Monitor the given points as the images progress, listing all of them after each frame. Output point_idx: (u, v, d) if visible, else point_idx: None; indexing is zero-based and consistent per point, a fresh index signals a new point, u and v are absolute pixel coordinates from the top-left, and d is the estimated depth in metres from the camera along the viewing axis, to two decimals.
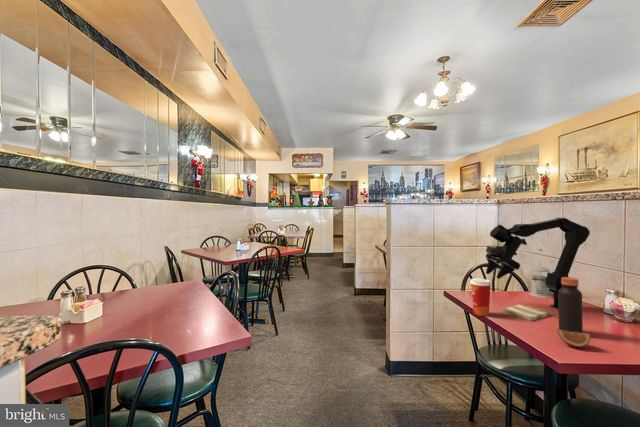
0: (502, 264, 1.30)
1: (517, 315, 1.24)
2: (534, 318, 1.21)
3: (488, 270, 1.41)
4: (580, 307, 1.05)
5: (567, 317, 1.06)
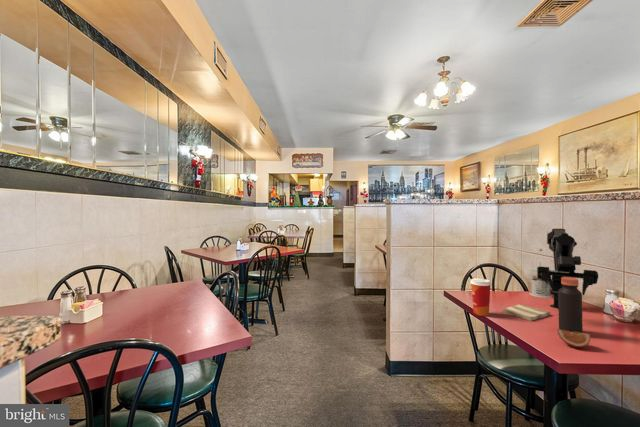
0: (588, 277, 1.12)
1: (517, 315, 1.24)
2: (534, 318, 1.21)
3: (552, 286, 1.17)
4: (580, 307, 1.05)
5: (567, 317, 1.06)
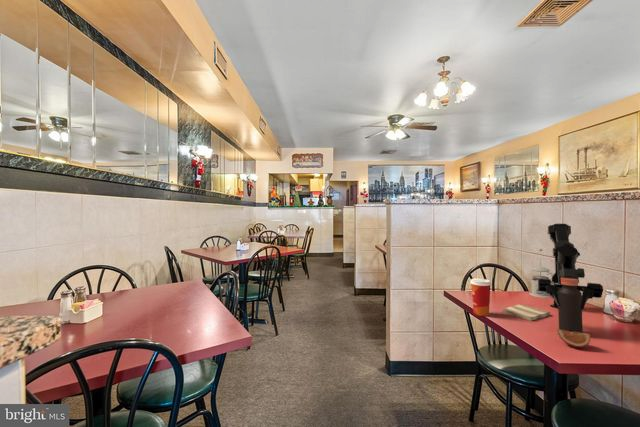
0: (587, 291, 1.06)
1: (517, 315, 1.24)
2: (534, 318, 1.21)
3: None
4: (580, 307, 1.05)
5: (567, 317, 1.06)
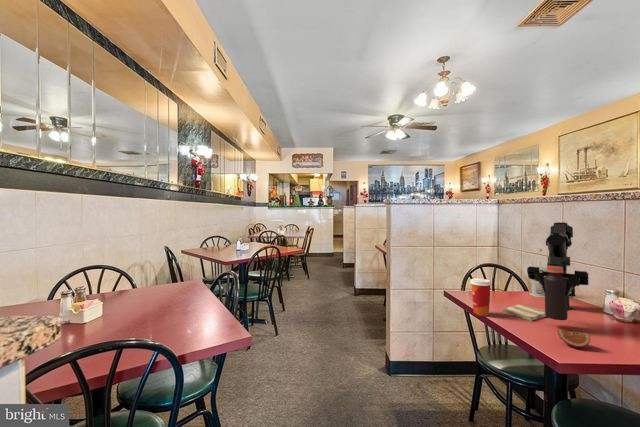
0: (573, 278, 1.10)
1: (517, 315, 1.24)
2: (534, 318, 1.21)
3: None
4: (564, 293, 1.09)
5: (551, 303, 1.11)
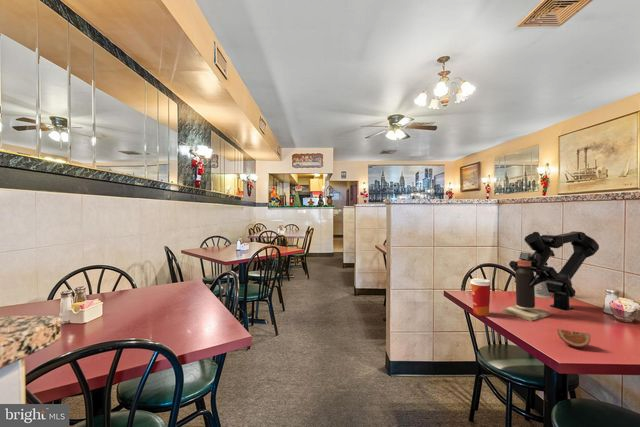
0: (538, 272, 1.23)
1: (517, 315, 1.24)
2: (534, 318, 1.21)
3: None
4: (527, 284, 1.25)
5: (517, 292, 1.28)
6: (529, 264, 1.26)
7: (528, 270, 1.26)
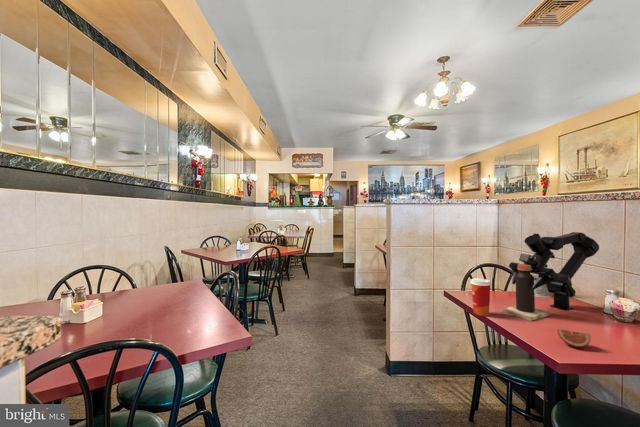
0: (541, 274, 1.22)
1: (517, 315, 1.24)
2: (534, 318, 1.21)
3: (514, 280, 1.32)
4: (527, 289, 1.25)
5: (517, 296, 1.28)
6: (529, 268, 1.26)
7: (528, 274, 1.26)
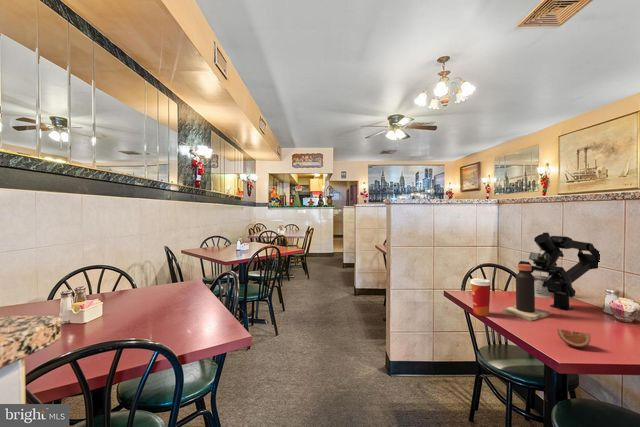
0: (551, 272, 1.24)
1: (517, 315, 1.24)
2: (534, 318, 1.21)
3: None
4: (527, 289, 1.25)
5: (517, 296, 1.28)
6: (529, 268, 1.26)
7: (528, 274, 1.26)
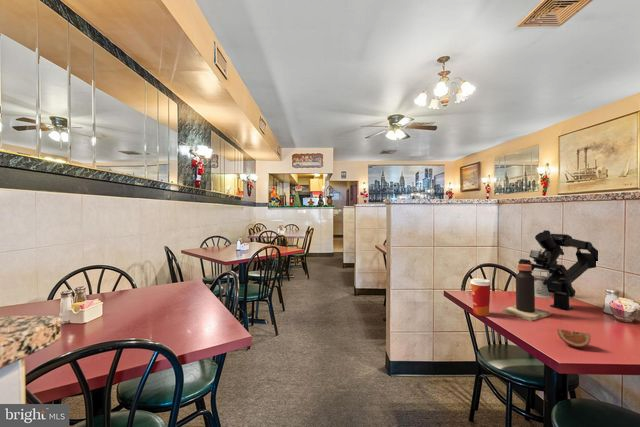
0: (552, 270, 1.24)
1: (517, 315, 1.24)
2: (534, 318, 1.21)
3: None
4: (527, 289, 1.25)
5: (517, 296, 1.28)
6: (529, 268, 1.26)
7: (528, 274, 1.26)
